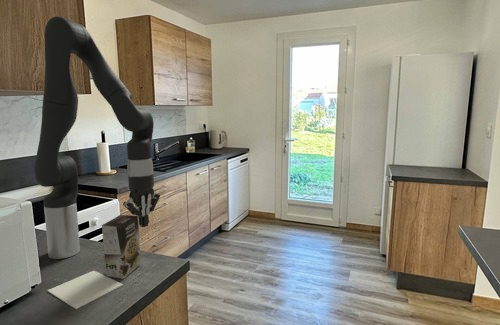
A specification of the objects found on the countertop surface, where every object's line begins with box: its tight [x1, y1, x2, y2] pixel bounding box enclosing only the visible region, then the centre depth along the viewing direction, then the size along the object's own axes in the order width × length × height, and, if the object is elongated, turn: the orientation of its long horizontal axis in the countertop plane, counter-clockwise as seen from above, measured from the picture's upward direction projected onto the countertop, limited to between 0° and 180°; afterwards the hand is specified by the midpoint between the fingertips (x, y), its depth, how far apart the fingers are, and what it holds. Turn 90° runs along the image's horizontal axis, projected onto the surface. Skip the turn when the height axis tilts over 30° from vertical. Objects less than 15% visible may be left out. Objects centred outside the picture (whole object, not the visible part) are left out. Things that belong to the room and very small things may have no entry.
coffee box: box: [101, 214, 142, 280], centre depth 93 cm, size 9×6×16 cm
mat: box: [47, 270, 124, 310], centre depth 85 cm, size 14×13×1 cm
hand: (144, 226), depth 99 cm, fingers closed
